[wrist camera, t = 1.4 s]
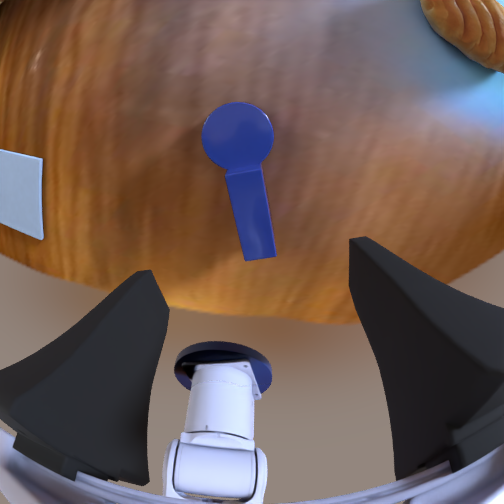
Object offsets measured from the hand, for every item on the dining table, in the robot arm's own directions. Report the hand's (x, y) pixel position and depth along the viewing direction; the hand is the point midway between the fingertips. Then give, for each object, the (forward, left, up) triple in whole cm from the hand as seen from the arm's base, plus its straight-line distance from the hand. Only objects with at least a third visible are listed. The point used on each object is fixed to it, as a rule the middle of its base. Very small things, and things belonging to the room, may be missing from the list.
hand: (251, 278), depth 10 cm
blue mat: (+5, +19, -8) cm, 21 cm away
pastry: (+11, -18, -8) cm, 23 cm away
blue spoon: (+1, 0, -8) cm, 8 cm away
